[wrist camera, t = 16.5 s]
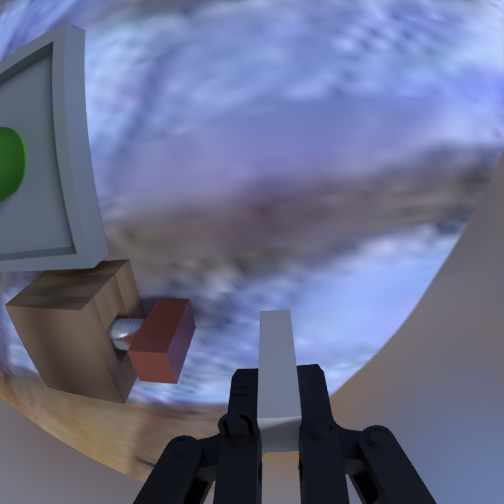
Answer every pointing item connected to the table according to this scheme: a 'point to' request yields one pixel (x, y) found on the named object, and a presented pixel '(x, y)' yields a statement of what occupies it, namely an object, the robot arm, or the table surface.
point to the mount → (79, 328)
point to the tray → (50, 158)
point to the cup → (11, 161)
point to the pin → (156, 340)
